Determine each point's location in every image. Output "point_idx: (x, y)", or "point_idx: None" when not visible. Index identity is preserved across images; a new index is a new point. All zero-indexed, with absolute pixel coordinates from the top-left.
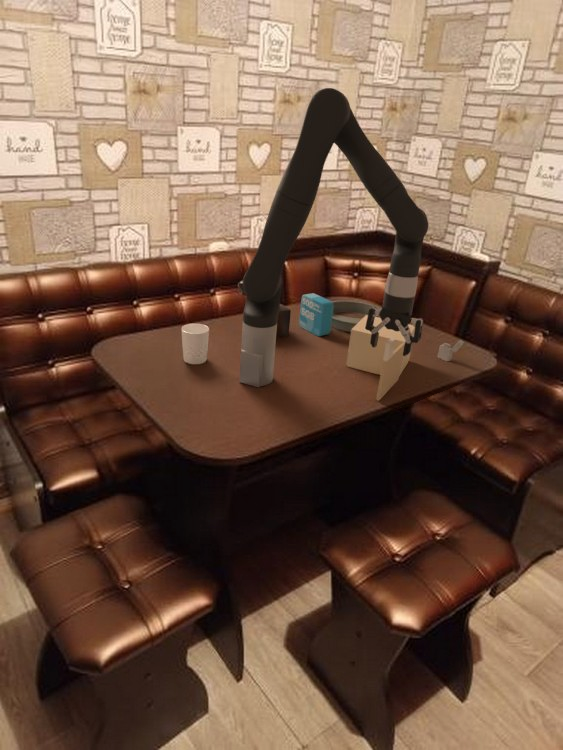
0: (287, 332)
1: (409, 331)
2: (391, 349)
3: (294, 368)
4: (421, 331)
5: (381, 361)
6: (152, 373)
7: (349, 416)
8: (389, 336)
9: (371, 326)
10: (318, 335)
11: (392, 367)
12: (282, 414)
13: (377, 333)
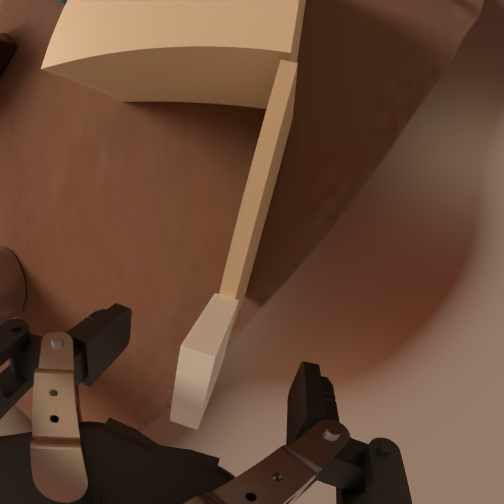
0: (10, 48)
1: (307, 484)
2: (217, 366)
3: (32, 194)
4: (405, 500)
5: (213, 89)
6: None
7: None
8: (197, 23)
9: (27, 374)
10: (63, 2)
11: (258, 228)
12: (89, 390)
13: (84, 358)
